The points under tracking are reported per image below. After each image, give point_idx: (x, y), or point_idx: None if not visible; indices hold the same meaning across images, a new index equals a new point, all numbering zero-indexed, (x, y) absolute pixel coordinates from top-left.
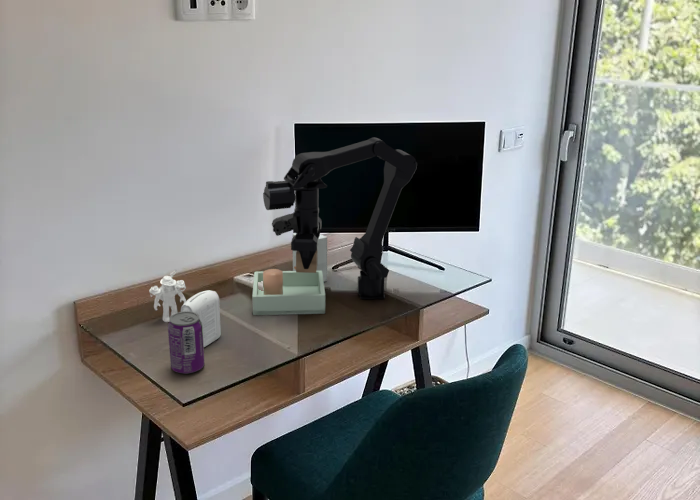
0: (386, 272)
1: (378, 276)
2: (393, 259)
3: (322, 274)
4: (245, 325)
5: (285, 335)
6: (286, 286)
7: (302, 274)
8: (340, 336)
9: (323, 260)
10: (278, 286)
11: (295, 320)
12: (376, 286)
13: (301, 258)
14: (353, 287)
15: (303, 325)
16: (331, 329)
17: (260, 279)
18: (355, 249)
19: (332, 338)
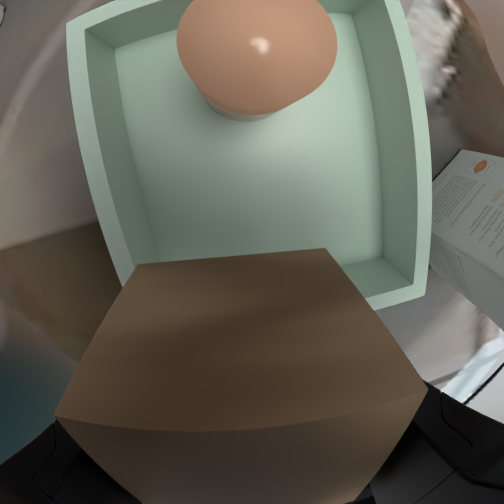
0: None
1: None
2: (482, 371)
3: (441, 269)
4: (36, 62)
5: (7, 208)
6: (373, 125)
7: (411, 208)
8: (58, 347)
9: (476, 299)
10: (206, 98)
11: (88, 213)
12: None
13: (57, 422)
14: None
15: (66, 248)
16: (77, 328)
17: (367, 9)
18: (373, 498)
19: (42, 330)
